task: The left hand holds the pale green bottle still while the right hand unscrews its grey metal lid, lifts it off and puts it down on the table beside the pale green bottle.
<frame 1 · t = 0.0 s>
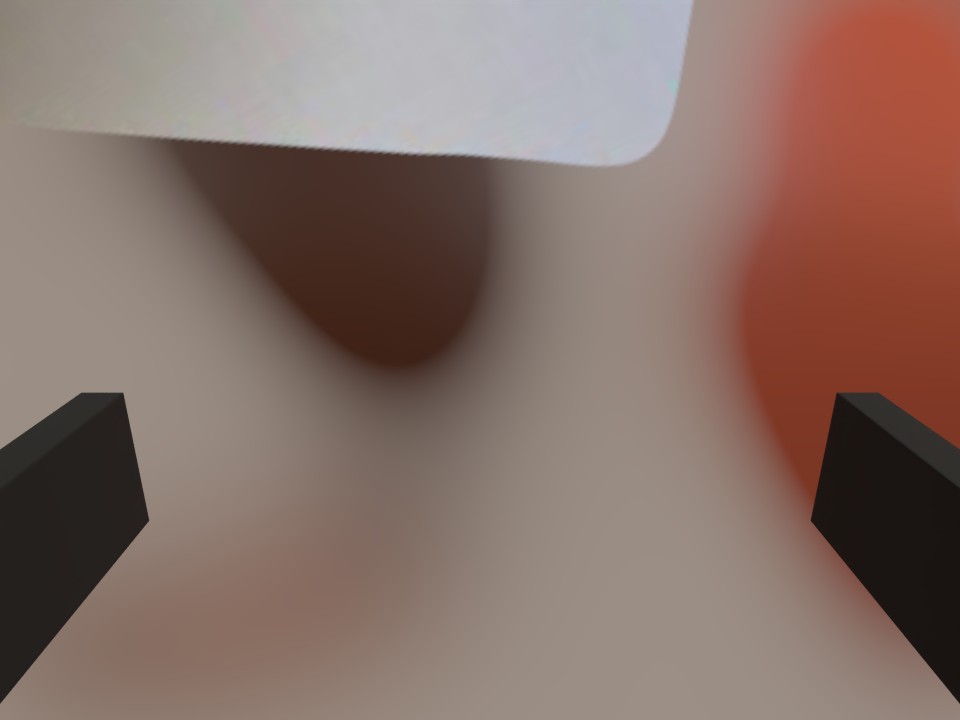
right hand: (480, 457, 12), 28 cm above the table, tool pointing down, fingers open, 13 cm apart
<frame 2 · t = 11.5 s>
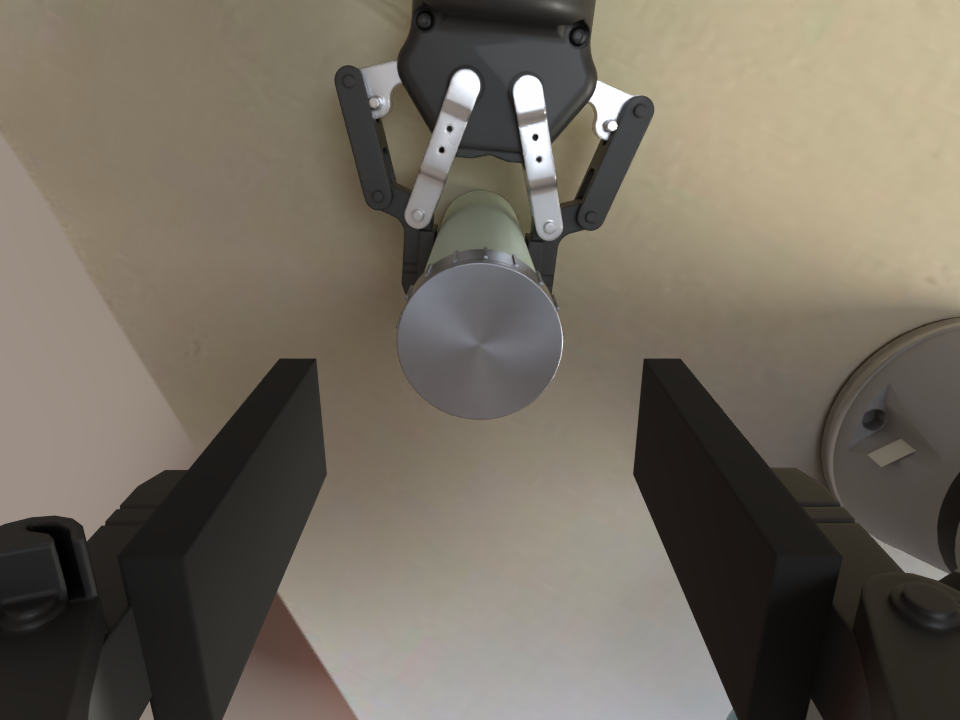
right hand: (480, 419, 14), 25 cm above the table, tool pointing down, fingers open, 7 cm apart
left hand: (475, 307, 32), fingers closed on pale green bottle, 4 cm apart
pale green bottle: (480, 229, 37), on the table, touching left hand
lid: (479, 340, 19), point 19 cm above the table, screwed on, not yet turned
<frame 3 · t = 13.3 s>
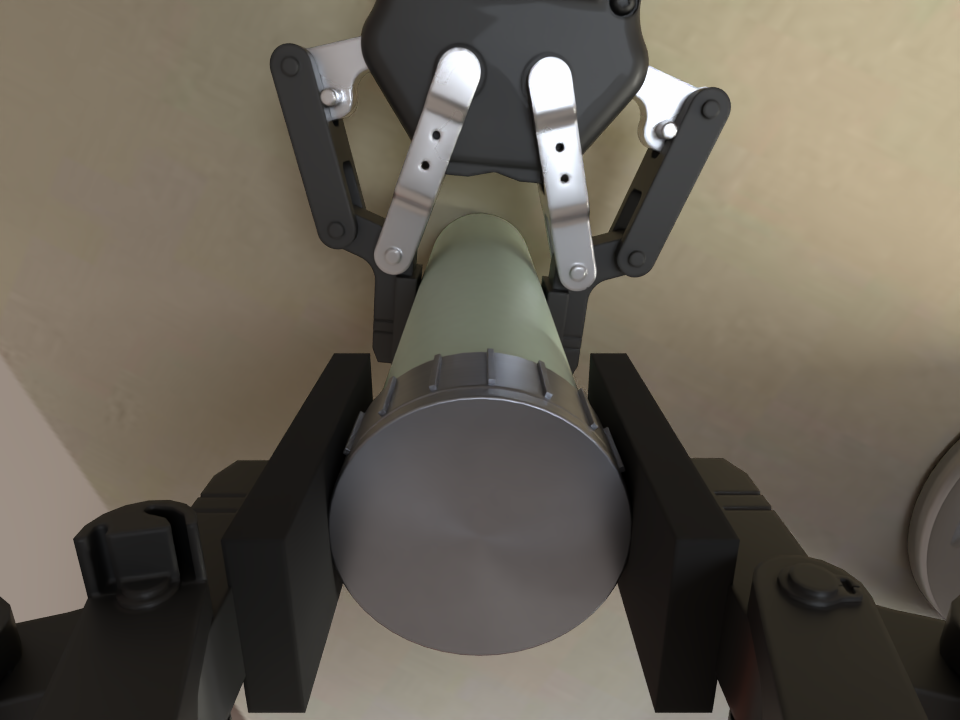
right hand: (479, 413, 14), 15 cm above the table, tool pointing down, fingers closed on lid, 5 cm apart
left hand: (474, 376, 24), fingers closed on pale green bottle, 4 cm apart
pale green bottle: (480, 263, 29), on the table, touching left hand
lid: (480, 523, 10), point 19 cm above the table, screwed on, not yet turned, touching right hand
when the right hand's fingers open (16 cm above the table, at t = 14.6 s): lid stays where it is, point 20 cm above the table.
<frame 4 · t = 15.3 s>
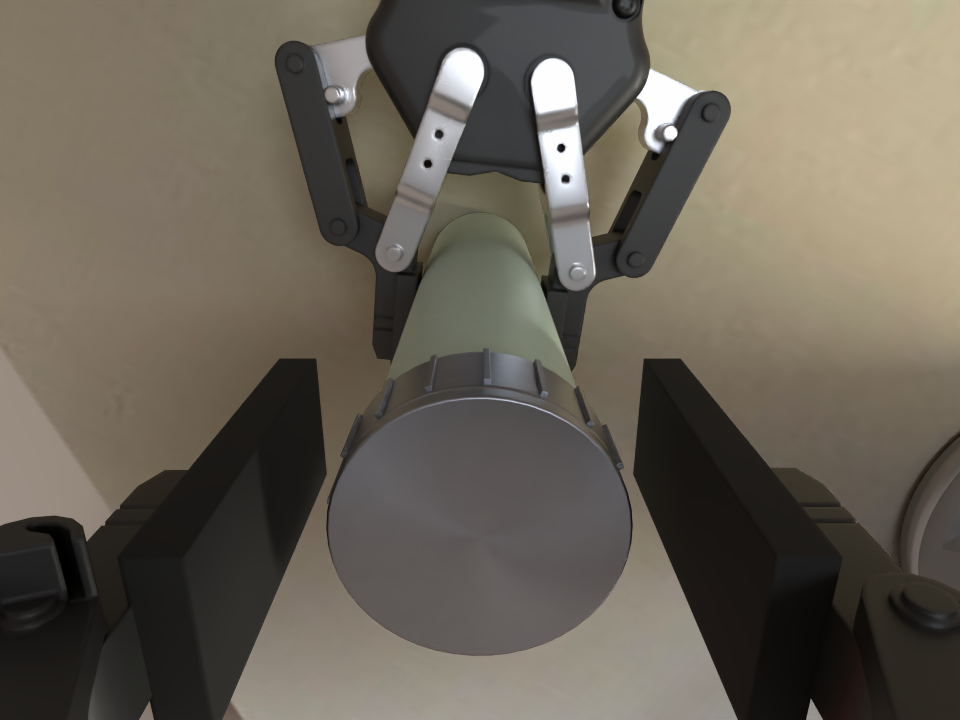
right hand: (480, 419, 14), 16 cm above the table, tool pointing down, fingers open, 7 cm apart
left hand: (472, 374, 24), fingers closed on pale green bottle, 4 cm apart
pale green bottle: (480, 262, 29), on the table, touching left hand
lid: (479, 523, 10), point 20 cm above the table, turned 66° so far, risen 0.2 cm, still on its thread
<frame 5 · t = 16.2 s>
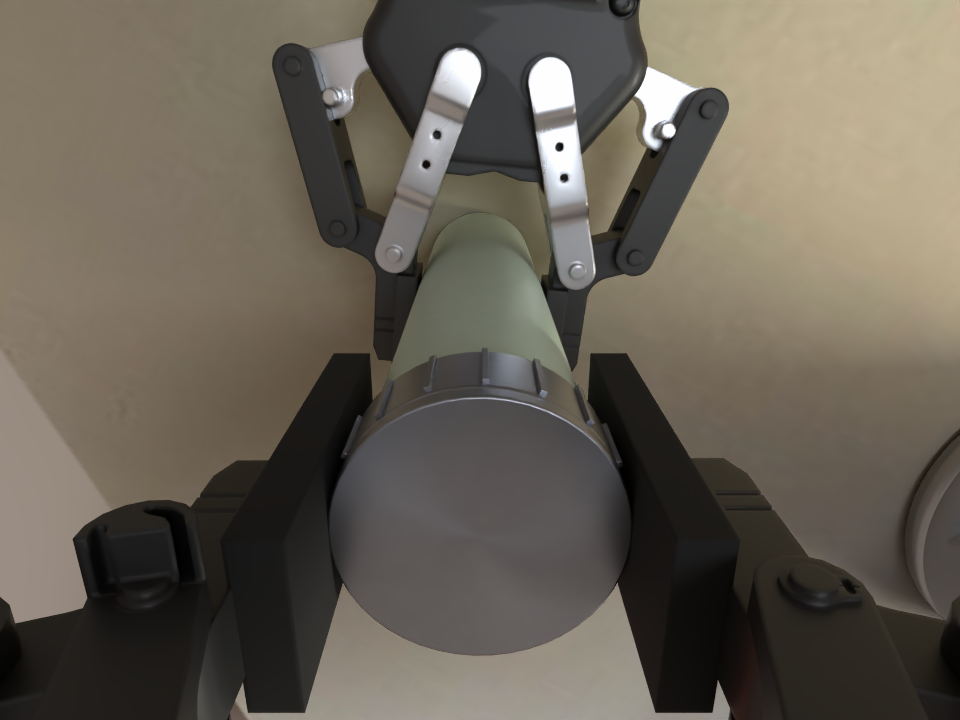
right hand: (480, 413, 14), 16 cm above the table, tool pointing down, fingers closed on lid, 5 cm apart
left hand: (473, 374, 24), fingers closed on pale green bottle, 4 cm apart
pale green bottle: (480, 262, 29), on the table, touching left hand
lid: (480, 523, 10), point 20 cm above the table, turned 66° so far, risen 0.2 cm, still on its thread, touching right hand
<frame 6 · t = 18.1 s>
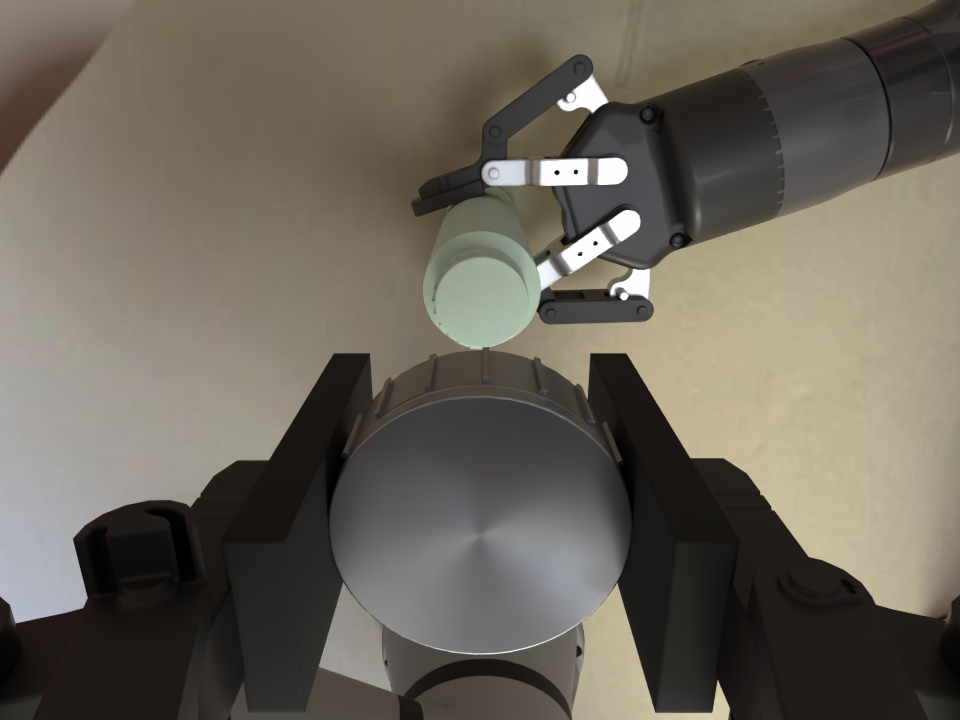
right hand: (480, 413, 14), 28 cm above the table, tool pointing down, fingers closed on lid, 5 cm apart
left hand: (432, 253, 35), fingers closed on pale green bottle, 4 cm apart
pale green bottle: (481, 218, 40), on the table, touching left hand
lid: (480, 522, 10), point 32 cm above the table, off its thread, touching right hand
when the right hand's fingers open (0 cm above the table, at t = 23.9 s): lid drops 3 cm, point 2 cm above the table.
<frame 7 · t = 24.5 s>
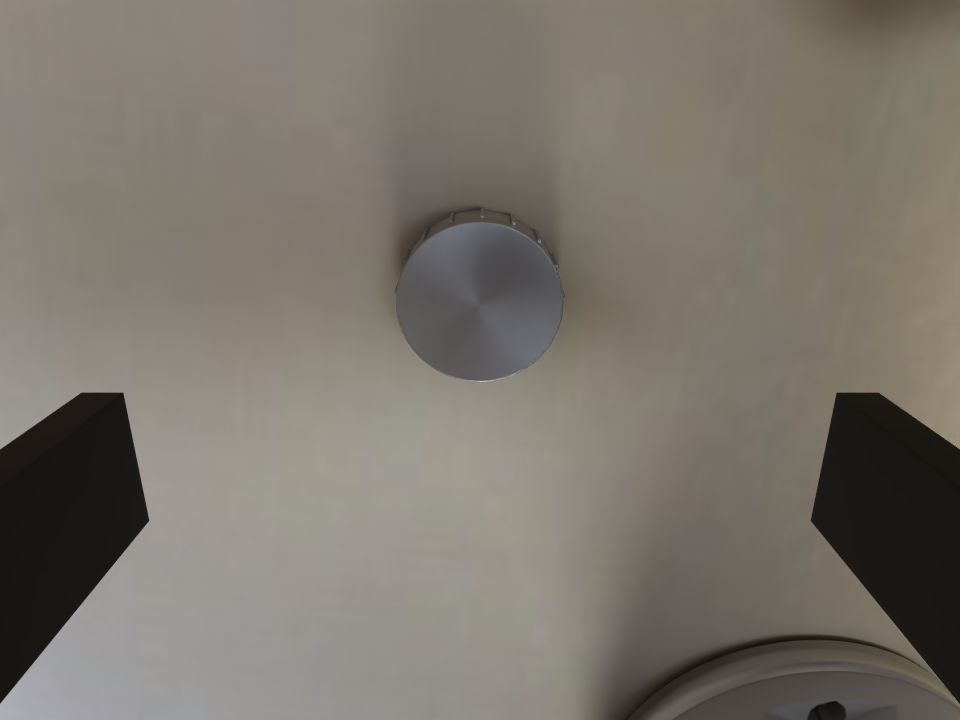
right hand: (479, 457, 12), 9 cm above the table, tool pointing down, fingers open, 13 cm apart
lid: (479, 301, 19), point 2 cm above the table, off its thread
when the left hand's fingers open (7 cm above the table, at t = 24.5 s): pale green bottle stays where it is, on the table.
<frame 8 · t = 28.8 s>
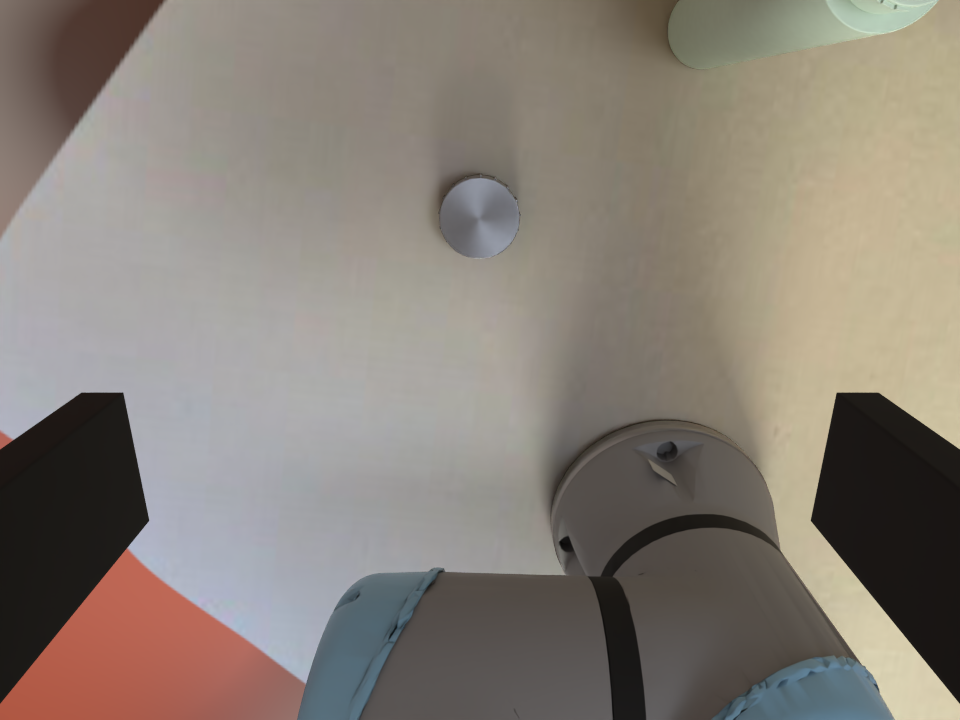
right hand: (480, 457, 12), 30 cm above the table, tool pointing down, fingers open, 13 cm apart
pale green bottle: (706, 27, 37), on the table
lid: (479, 218, 39), point 2 cm above the table, off its thread
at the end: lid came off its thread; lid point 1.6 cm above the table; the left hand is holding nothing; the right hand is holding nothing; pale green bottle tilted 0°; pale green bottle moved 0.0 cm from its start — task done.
